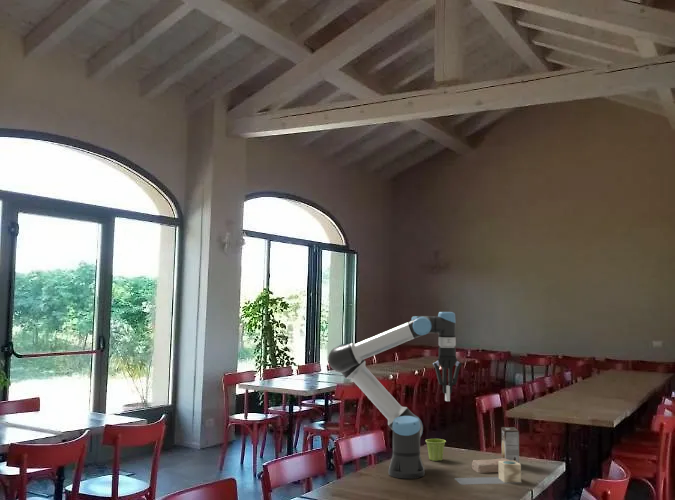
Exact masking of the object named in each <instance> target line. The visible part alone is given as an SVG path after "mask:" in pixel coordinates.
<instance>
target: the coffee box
mask: <svg viewBox="0 0 675 500" xmlns="http://www.w3.org/2000/svg"><path fill="white" fill-rule="evenodd" d="M500 430H501V433H500V434H501V435H500V437H501V438H500V439H501V442H500V443H501V458H505V459H508V460H511V461H516V462H518V463H519V464H520V430H518V429H517V428H516V427H515V426H510V427H509V426H501V427H500Z"/></svg>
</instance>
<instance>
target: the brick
mask: <svg viewBox="0 0 675 500" xmlns="http://www.w3.org/2000/svg"><path fill="white" fill-rule="evenodd" d="M498 461H511V460H508V459H505V458H502V457H501V458H494V459H479V460H478V459H476V460H475V459H473V460H472V462H471V469H472V470H473V471H475V472H476V473H478V474H479V473H481V474H486V473H499V469H498Z"/></svg>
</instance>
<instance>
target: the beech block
mask: <svg viewBox="0 0 675 500" xmlns="http://www.w3.org/2000/svg"><path fill="white" fill-rule="evenodd" d="M498 469H499V472H498V477H499V479H500V480H502V481H503V482H522V465H521V463H520V462H519V463H518V462H516V461H498Z"/></svg>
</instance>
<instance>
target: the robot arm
mask: <svg viewBox="0 0 675 500" xmlns="http://www.w3.org/2000/svg"><path fill="white" fill-rule="evenodd" d="M456 323H457V321H456V313H455V312H453V311H439V312H438V314H437V315H435V316H431V315H430V316H429V315H417V316H416V315H414V316H412V317H411V320H410V321H408V322H405V323H402V324H400V325H398V326H396V327H393V328H390V329H388V330H385V331H382V332H381V333H377V334H376V335H374V336H371V337H368V338H366V339H364V340H361V341H359V342H357V343H353V342H350V343H343V344H342V343H341V344H340V345H337V346H335V347H333V348H332V349H331V350H330V352H329V354H328V357H327V359H328V360H327V361H328V365H329V366H330V368H331V369H332V370H333V371H335V372H337V373H341V374H342V375H343V377H345V379H346V380H352V382H353V383H354V384H355V385H356V387H358V388H359V390H360V391H361V392H362V393H363V394H364V395H365V396H366V397H367V399H368V400H369V401H370V402H371V403H372V404H373V405H374V406H375V408H376V409H378V410H379V412H380V413H381V414H382V415H383V416H384V417H385V418H386V419H387V425H388V427H389V429H391V431H392V455H391V460H390V463H389V466H388V475H389V476H390V477H393V478H398V479H405V480H406V479H407V480H408V479H409V480H410V479H419V478H422V477H424V476H425V466H424V464H423V461H422V457H421V437H422V435H423V434H424V432H423V431H424V425H423V422H422V420H421V419H420V417H419V416H417V415H416V414H414V413H413V412H412V411H411V410H410V409H409V408H408V407H407V406H402V405H401V404H400V403H399V402H398V401H397V400H396V398H395V397H394V396H393V395H392V394H391V393H390V392H389V391H388V389H386V387H385V386H384V385H383V384H382V383H381V382H380V381H379V379H377V377H376V376H375V375H374V374H373V373H372V371H370V370H369V368H368V367H366V364H367V363H366V360H365V359H368V358H370V357H373V356H376V355H378V354H380V353H383V352H385V351H387V350H390V349H393V348H395V347H397V346H399V345H402V344H404V343H407V342H408V341H412V340H414V339H416V338H419V337H422V336H425V335H427V334H438V346H439V347H438V358H437V360H436V361H435V362H433V363H432V366H433V367H434V370H435V373H436V378H437V382H438V384H439V385H442V393H443V394H444V401H445V402H451V394H453V386H454V385H457V382H458V378H459V377H458V376H459V374H460V373H459V372H460V368H461V367H462V365H463V363H462V362H460V361H458V359H457V355H456V354H457V350H456V345H457V342H456V340H457V338H456V337H457V335H456V331H457V330H456V329H457V328H456V325H457V324H456ZM439 366H441V369H442V372H441V371H440V367H439ZM454 366H455V368H454ZM453 368H454V372H453ZM447 370H448V371H447ZM441 373H442V375H441ZM447 379H448V380H447ZM447 383H448V384H447Z"/></svg>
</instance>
